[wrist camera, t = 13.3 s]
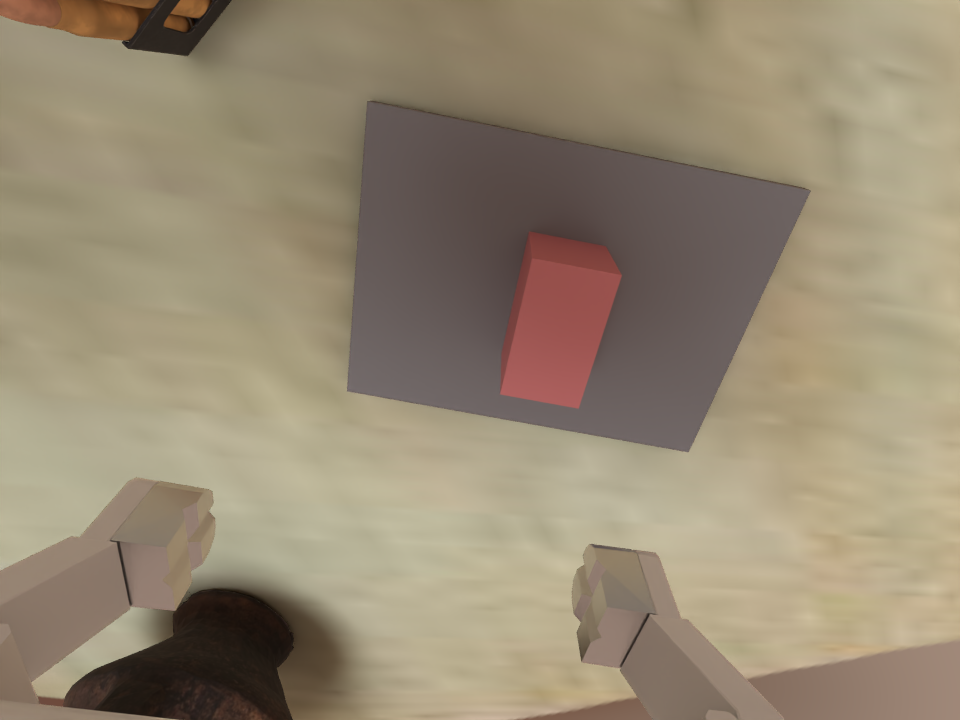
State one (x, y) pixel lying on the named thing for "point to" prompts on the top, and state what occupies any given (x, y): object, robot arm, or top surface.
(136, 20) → the ammunition clip
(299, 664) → the top surface
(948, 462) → the top surface
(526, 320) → the red rectangular block
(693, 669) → the robot arm
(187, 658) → the jug
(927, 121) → the top surface
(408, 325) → the mat
